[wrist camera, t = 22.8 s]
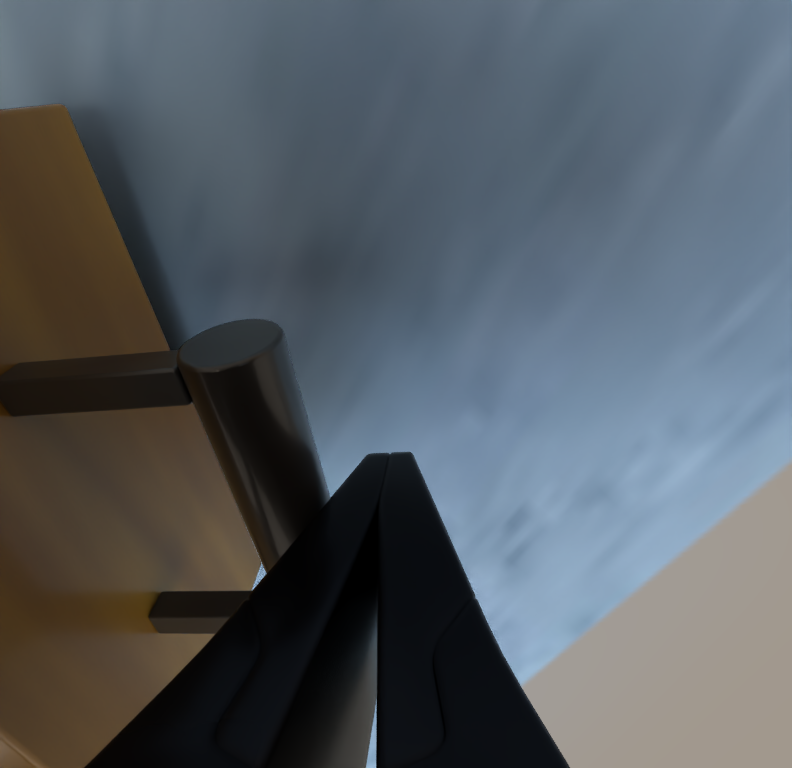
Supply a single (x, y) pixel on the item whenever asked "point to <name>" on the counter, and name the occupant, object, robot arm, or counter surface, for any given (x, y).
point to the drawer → (120, 462)
